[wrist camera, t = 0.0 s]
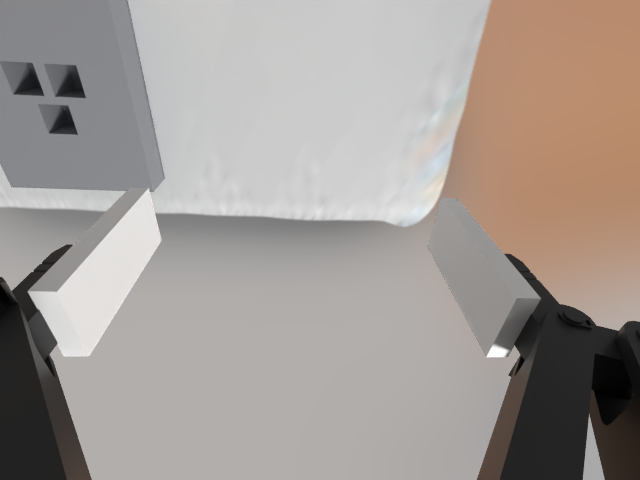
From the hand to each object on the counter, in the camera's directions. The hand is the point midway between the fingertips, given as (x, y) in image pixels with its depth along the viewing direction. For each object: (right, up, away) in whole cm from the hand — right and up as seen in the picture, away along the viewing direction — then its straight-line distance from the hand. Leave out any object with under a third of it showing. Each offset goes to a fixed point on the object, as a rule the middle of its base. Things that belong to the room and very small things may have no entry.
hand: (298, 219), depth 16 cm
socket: (-26, +15, +22) cm, 38 cm away
